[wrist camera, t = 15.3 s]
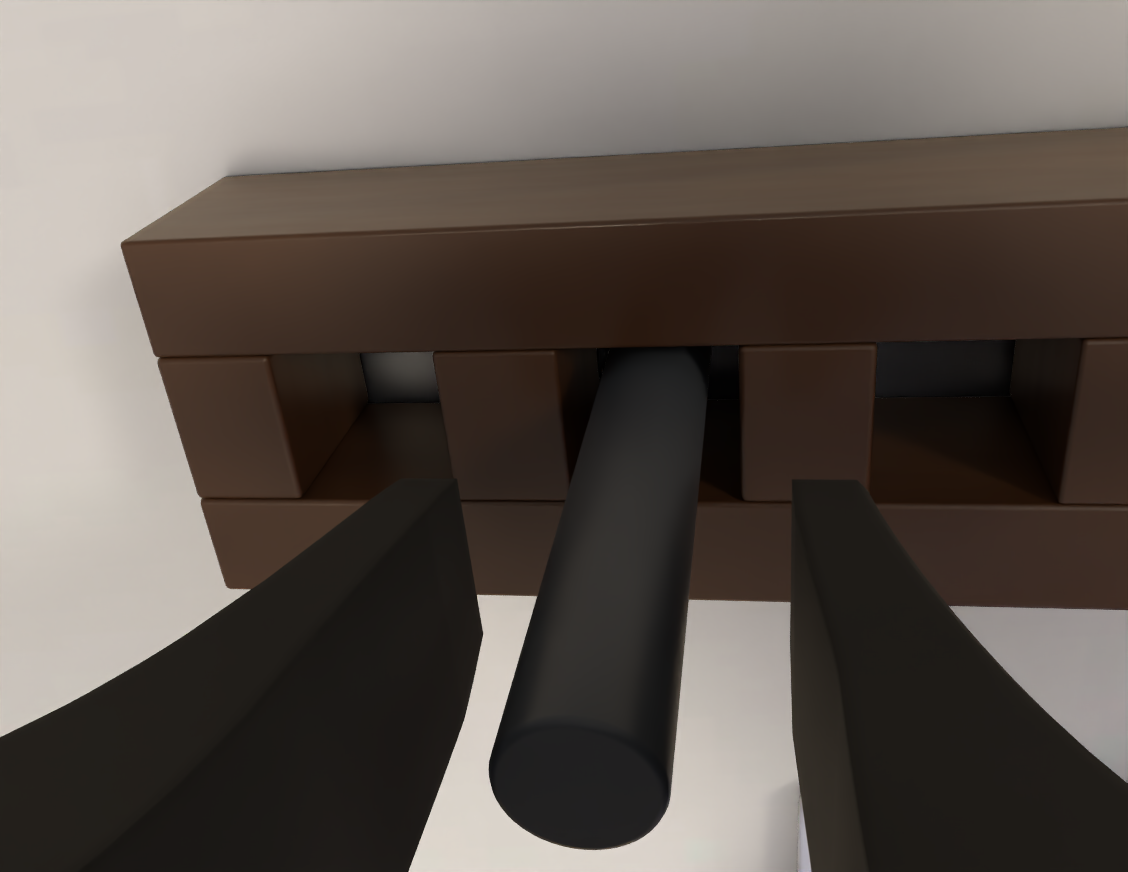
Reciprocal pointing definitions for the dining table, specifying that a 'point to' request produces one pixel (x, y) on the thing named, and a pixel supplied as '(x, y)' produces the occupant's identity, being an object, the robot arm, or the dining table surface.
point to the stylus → (611, 615)
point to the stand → (667, 319)
